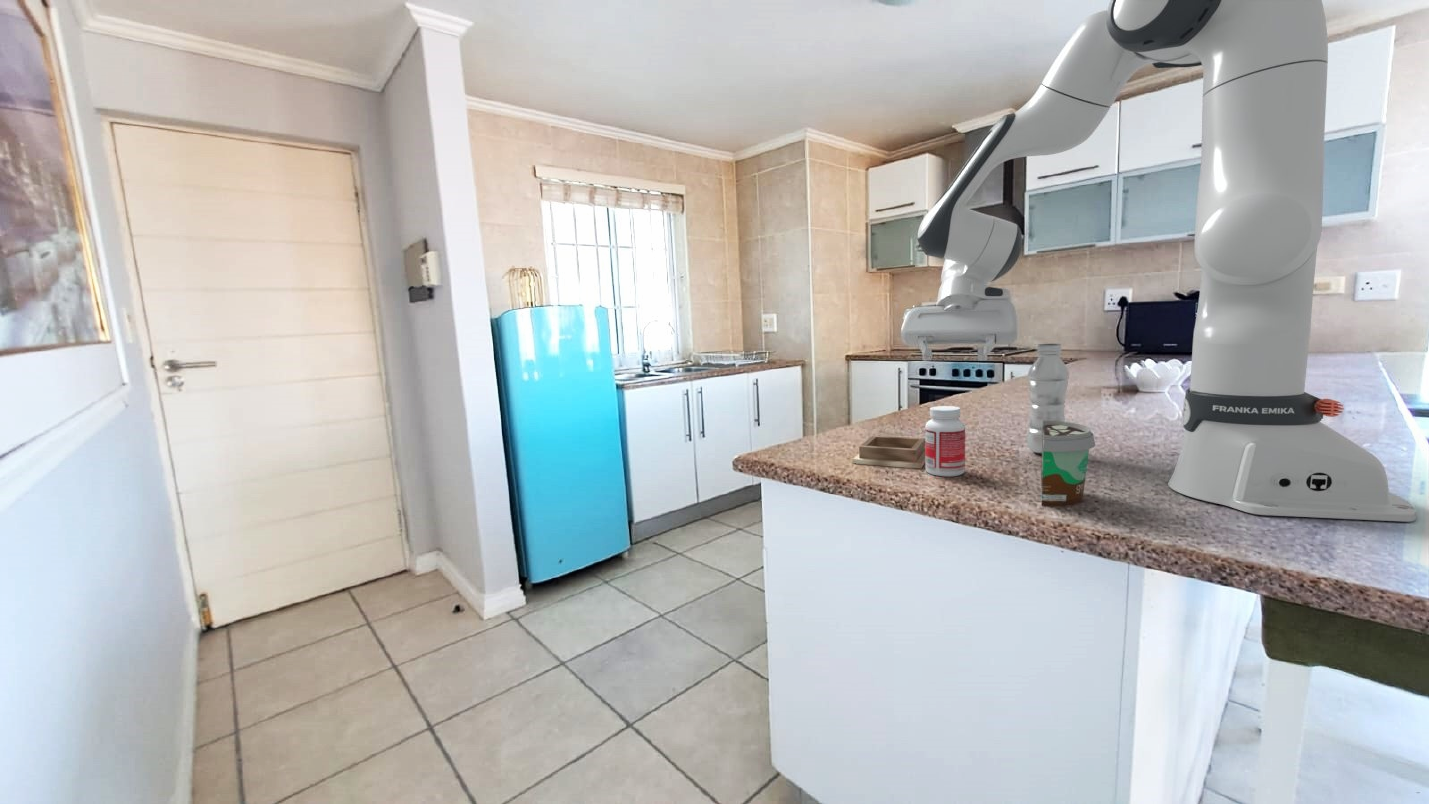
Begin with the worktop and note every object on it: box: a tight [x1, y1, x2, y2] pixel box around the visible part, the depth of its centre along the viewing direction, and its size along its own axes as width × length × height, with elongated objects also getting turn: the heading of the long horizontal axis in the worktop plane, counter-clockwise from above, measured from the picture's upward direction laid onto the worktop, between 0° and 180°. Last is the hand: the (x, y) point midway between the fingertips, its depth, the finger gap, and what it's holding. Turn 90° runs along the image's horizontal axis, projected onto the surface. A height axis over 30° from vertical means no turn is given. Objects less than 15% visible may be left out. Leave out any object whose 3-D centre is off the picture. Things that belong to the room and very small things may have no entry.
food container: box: [1040, 420, 1096, 507], centre depth 77 cm, size 12×6×10 cm, turn 150°
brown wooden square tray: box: [852, 435, 926, 469], centre depth 104 cm, size 12×12×3 cm
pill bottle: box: [924, 405, 966, 478], centre depth 93 cm, size 6×6×11 cm
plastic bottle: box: [1025, 343, 1070, 455], centre depth 100 cm, size 6×7×20 cm
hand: (953, 358), depth 102 cm, fingers open, 8 cm apart
